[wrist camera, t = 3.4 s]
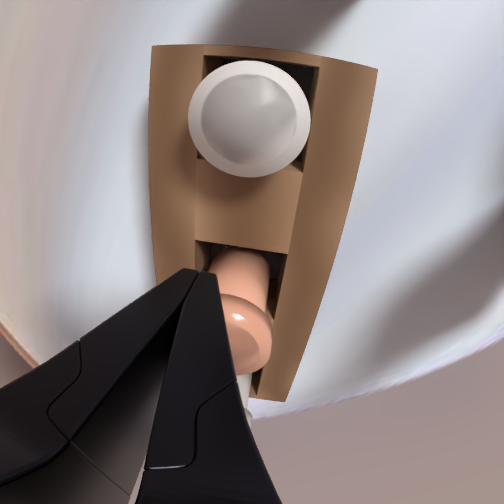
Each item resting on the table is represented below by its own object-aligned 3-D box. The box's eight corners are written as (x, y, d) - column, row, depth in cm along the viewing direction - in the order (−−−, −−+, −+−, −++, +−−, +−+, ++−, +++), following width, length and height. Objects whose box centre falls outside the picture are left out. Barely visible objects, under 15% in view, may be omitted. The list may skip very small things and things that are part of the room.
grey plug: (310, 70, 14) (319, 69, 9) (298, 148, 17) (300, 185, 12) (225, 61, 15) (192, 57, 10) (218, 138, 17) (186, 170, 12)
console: (359, 69, 14) (378, 69, 11) (287, 366, 28) (284, 402, 25) (180, 49, 15) (152, 45, 11) (183, 348, 28) (171, 381, 25)
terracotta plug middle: (284, 244, 18) (278, 322, 13) (272, 304, 20) (263, 381, 15) (203, 232, 18) (169, 302, 13) (203, 293, 20) (176, 365, 15)
